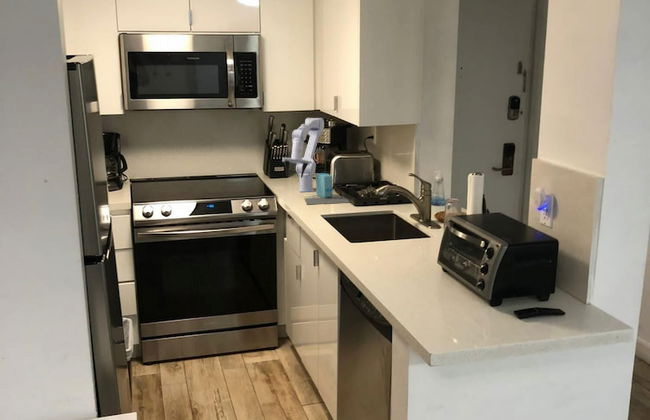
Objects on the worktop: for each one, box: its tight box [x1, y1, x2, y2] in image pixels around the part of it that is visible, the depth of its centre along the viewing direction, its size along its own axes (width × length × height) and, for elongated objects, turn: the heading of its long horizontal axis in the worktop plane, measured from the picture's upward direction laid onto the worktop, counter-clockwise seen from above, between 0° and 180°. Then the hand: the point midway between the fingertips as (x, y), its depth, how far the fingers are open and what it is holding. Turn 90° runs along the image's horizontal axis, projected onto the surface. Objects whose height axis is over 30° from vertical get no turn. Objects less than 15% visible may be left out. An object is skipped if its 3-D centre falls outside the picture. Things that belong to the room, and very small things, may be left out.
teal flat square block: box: [315, 172, 334, 198], centre depth 356 cm, size 12×4×12 cm, turn 23°
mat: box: [304, 196, 351, 206], centre depth 347 cm, size 14×22×1 cm, turn 97°
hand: (294, 176), depth 356 cm, fingers open, 7 cm apart
